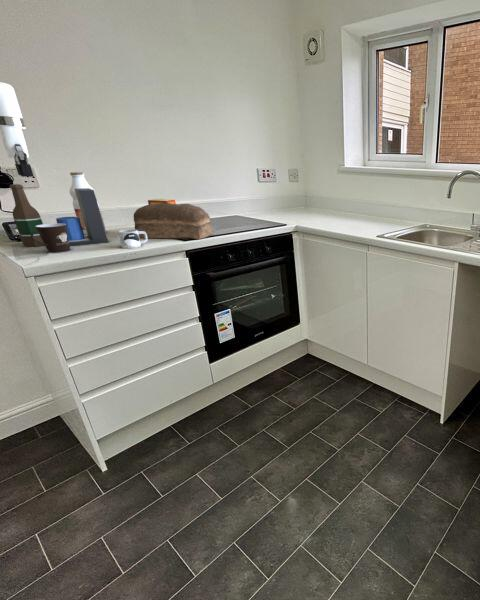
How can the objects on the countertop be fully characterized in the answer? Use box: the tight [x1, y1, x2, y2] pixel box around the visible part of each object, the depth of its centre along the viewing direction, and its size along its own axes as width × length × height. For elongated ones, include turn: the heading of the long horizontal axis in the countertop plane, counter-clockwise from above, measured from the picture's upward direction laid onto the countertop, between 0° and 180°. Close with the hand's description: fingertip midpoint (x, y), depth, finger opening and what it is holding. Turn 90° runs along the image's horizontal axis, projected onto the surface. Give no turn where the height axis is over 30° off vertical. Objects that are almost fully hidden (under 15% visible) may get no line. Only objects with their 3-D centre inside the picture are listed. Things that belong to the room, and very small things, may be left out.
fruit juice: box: [68, 171, 107, 236], centre depth 165 cm, size 9×9×28 cm
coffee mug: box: [31, 222, 71, 254], centre depth 135 cm, size 12×9×10 cm
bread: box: [133, 203, 214, 240], centre depth 167 cm, size 15×32×16 cm, turn 93°
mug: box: [117, 228, 149, 249], centre depth 148 cm, size 10×7×7 cm, turn 147°
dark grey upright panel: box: [69, 188, 109, 247], centre depth 148 cm, size 16×12×22 cm
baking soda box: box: [147, 198, 177, 205], centre depth 179 cm, size 10×6×16 cm
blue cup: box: [55, 216, 85, 241], centre depth 148 cm, size 7×7×9 cm
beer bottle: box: [9, 183, 46, 248], centre depth 141 cm, size 8×8×24 cm
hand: (26, 175), depth 126 cm, fingers open, 9 cm apart
